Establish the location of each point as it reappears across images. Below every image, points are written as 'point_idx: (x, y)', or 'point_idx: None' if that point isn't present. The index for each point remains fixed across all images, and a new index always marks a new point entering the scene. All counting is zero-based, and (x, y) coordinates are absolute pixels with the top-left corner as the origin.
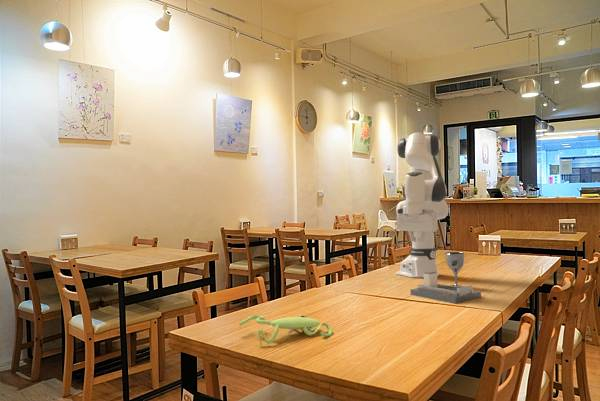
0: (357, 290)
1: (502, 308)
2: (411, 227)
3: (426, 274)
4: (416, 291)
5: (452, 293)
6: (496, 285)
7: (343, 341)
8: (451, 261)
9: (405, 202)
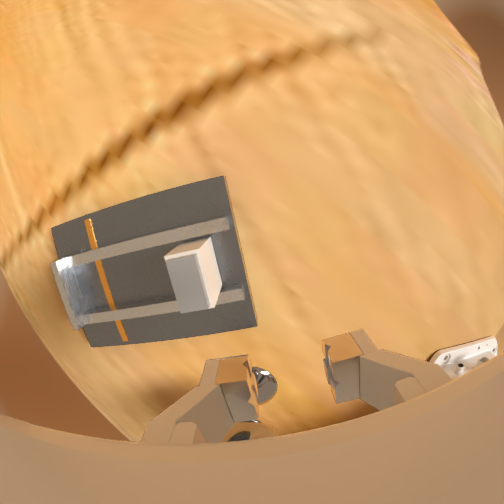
0: (388, 69)
1: (10, 285)
2: (389, 468)
3: (180, 252)
4: (192, 183)
5: (80, 252)
6: None
7: None
8: (231, 435)
9: None
